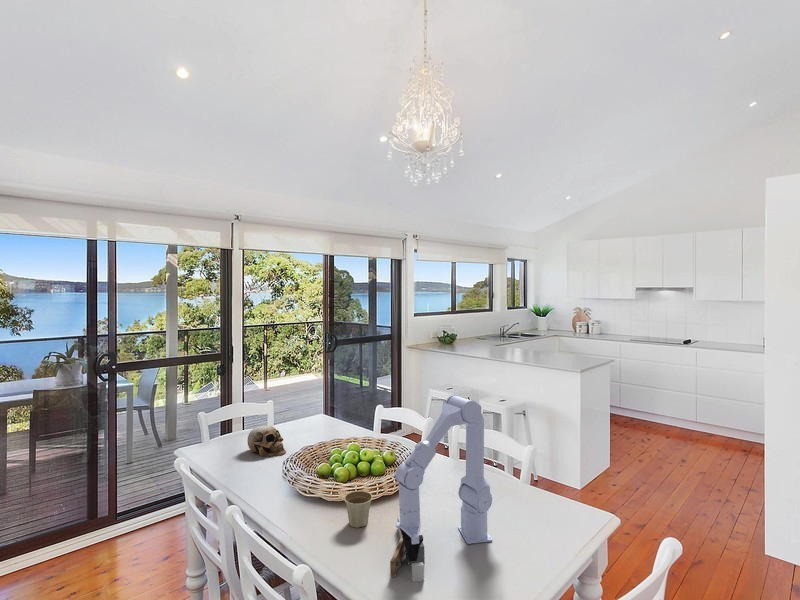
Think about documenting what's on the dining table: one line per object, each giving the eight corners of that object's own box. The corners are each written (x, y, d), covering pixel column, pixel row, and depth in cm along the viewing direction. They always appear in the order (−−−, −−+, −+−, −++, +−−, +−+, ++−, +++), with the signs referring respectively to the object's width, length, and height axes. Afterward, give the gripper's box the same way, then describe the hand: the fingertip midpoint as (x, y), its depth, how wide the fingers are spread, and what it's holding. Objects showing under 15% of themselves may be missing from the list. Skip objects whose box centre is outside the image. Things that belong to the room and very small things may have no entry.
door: (402, 547, 128) (402, 533, 128) (409, 547, 127) (409, 534, 127) (390, 576, 115) (390, 561, 115) (398, 577, 114) (398, 562, 114)
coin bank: (286, 454, 203) (282, 426, 203) (247, 463, 198) (244, 434, 198) (285, 445, 218) (282, 418, 218) (250, 452, 213) (246, 425, 213)
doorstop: (405, 556, 124) (405, 539, 124) (420, 554, 125) (420, 537, 125) (408, 566, 119) (408, 548, 119) (424, 564, 120) (424, 546, 120)
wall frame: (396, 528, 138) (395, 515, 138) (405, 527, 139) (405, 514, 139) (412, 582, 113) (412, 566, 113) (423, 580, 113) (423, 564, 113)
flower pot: (373, 515, 147) (373, 490, 147) (372, 530, 137) (372, 503, 137) (345, 516, 147) (345, 490, 146) (343, 531, 137) (342, 504, 137)
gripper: (391, 496, 128) (393, 541, 128) (400, 522, 114) (401, 573, 114) (414, 494, 129) (416, 538, 129) (426, 519, 115) (427, 569, 115)
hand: (411, 554), depth 122 cm, fingers open, 5 cm apart
